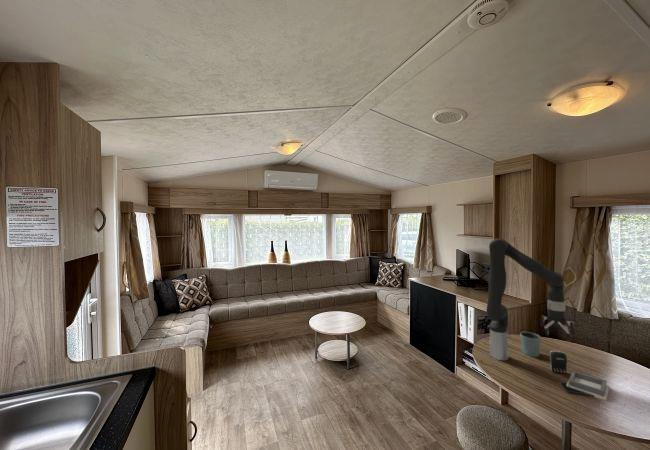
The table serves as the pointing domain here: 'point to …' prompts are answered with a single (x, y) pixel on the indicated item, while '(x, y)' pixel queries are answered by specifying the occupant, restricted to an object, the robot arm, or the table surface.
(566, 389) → the phone
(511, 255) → the robot arm
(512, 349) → the table surface
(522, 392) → the table surface
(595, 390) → the frame
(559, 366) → the battery charger
